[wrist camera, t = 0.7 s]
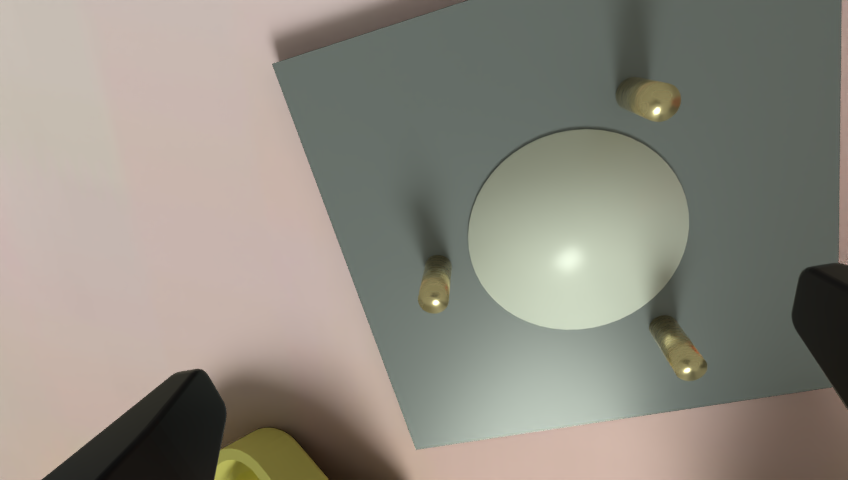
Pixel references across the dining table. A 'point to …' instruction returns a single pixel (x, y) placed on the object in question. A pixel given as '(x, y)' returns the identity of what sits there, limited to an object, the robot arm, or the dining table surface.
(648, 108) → the brass pins
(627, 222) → the nest plate
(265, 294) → the dining table surface
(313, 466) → the plastic component
